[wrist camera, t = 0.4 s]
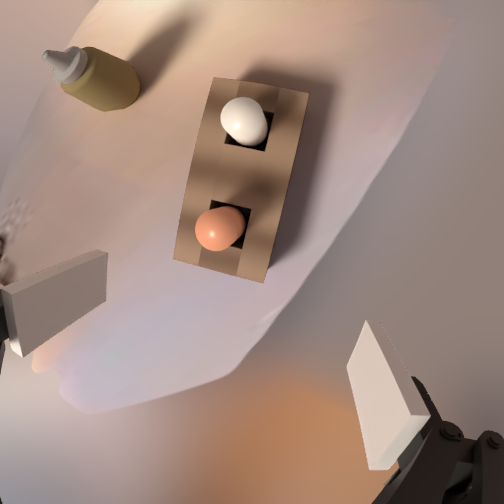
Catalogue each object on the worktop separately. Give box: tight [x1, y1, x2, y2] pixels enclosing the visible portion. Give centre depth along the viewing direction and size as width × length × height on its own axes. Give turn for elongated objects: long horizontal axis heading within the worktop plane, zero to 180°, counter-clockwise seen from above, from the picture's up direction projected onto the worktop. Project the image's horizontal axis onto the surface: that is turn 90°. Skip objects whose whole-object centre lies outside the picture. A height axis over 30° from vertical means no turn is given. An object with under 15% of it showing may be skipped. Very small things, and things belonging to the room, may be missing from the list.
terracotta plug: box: [195, 206, 246, 251], centre depth 30 cm, size 4×4×6 cm
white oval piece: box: [220, 97, 268, 147], centre depth 28 cm, size 4×4×6 cm
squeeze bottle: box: [42, 46, 140, 112], centre depth 28 cm, size 8×8×18 cm
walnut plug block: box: [173, 77, 309, 283], centre depth 34 cm, size 22×11×6 cm, turn 167°
